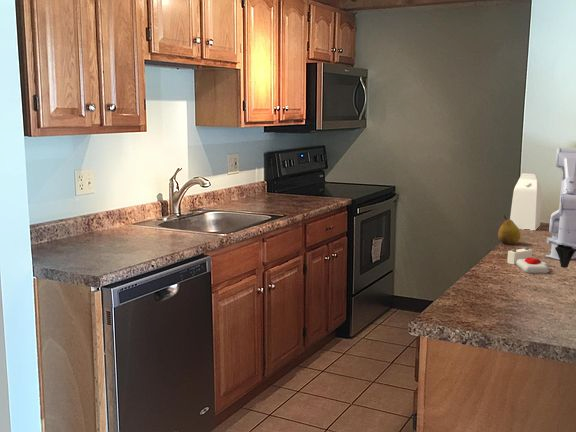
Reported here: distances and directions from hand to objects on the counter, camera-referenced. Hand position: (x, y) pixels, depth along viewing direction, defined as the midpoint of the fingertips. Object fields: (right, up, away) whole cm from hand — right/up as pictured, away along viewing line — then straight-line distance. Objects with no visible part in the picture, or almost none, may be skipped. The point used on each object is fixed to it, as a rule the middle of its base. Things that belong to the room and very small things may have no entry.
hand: (564, 267), depth 223 cm
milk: (+18, +12, +87) cm, 89 cm away
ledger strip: (-9, 0, +19) cm, 21 cm away
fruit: (-2, +6, +51) cm, 51 cm away
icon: (-7, -2, +9) cm, 12 cm away
